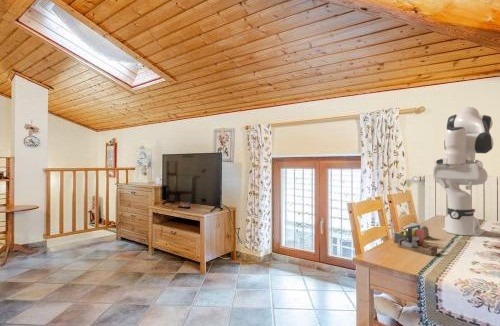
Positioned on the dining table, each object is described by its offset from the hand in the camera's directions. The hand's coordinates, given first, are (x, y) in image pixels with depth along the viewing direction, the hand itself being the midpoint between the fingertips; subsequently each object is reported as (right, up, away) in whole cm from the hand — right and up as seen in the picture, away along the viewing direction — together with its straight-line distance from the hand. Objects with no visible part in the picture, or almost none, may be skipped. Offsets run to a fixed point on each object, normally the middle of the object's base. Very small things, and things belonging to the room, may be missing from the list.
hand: (457, 188), depth 135 cm
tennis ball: (-17, -30, +10) cm, 35 cm away
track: (-21, -29, -2) cm, 36 cm away
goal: (-18, -29, +11) cm, 36 cm away
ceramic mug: (-6, -29, +21) cm, 37 cm away
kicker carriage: (-19, -28, +4) cm, 34 cm away
